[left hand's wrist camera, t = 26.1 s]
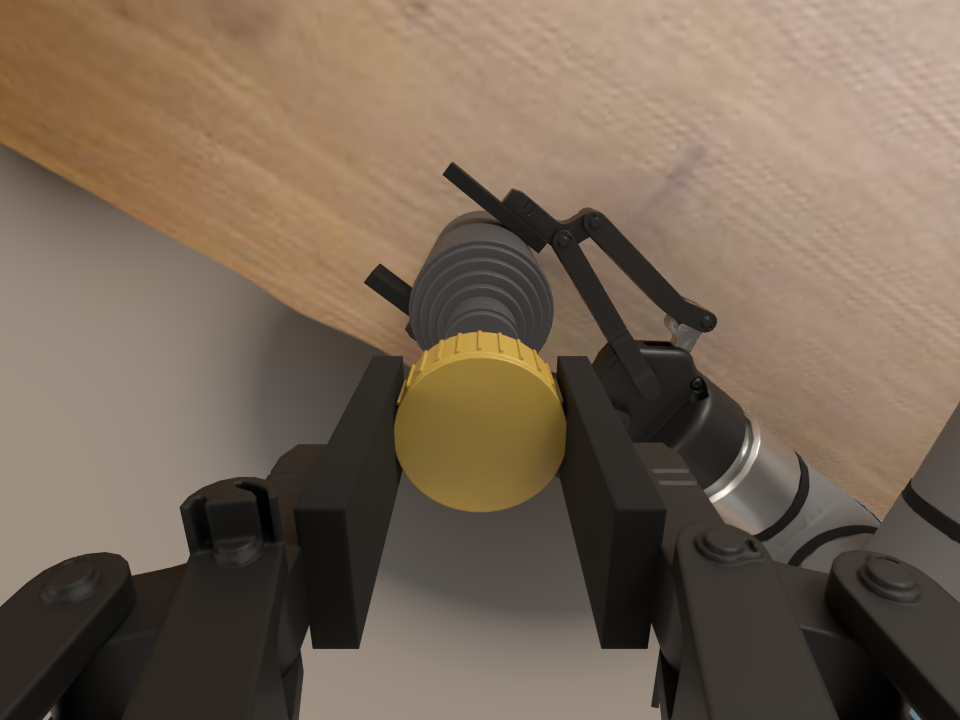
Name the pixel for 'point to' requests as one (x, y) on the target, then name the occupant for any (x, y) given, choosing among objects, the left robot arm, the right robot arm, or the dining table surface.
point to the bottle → (480, 286)
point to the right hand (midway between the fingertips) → (409, 222)
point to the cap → (480, 423)
